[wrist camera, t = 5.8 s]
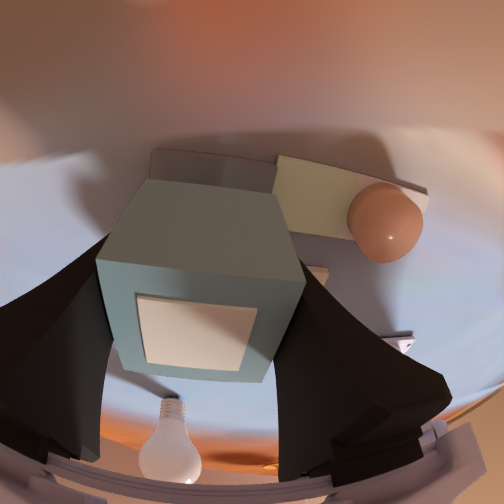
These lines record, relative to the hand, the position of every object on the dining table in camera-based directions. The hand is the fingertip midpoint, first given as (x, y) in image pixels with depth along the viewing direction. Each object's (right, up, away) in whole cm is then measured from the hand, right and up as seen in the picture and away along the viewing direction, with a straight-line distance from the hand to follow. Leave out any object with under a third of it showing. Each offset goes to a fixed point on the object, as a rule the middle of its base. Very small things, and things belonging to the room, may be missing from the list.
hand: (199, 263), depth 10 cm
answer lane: (+7, +3, +5) cm, 9 cm away
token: (+9, +3, +5) cm, 11 cm away
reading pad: (0, +3, +4) cm, 5 cm away
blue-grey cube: (0, +1, +2) cm, 2 cm away
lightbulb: (-7, -16, +17) cm, 24 cm away
